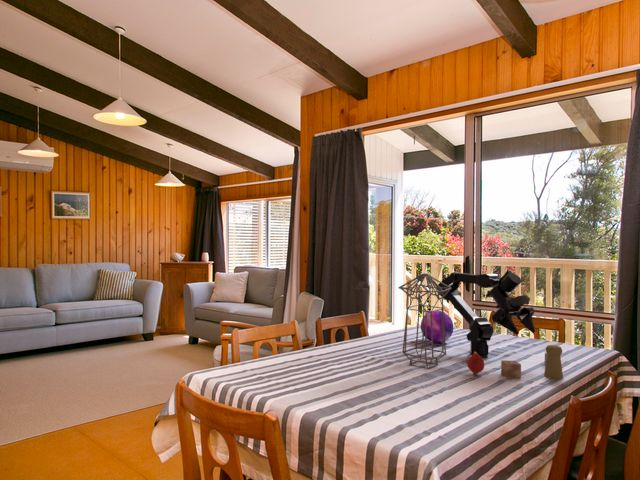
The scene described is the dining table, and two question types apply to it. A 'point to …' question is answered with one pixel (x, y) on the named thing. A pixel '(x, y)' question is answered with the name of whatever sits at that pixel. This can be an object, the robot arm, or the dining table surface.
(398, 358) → the dining table surface
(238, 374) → the dining table surface
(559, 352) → the cork
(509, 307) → the robot arm
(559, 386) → the dining table surface
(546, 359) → the slate marked block
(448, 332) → the decorative orb
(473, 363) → the onion
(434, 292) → the geometric lantern
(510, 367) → the walnut marked block
